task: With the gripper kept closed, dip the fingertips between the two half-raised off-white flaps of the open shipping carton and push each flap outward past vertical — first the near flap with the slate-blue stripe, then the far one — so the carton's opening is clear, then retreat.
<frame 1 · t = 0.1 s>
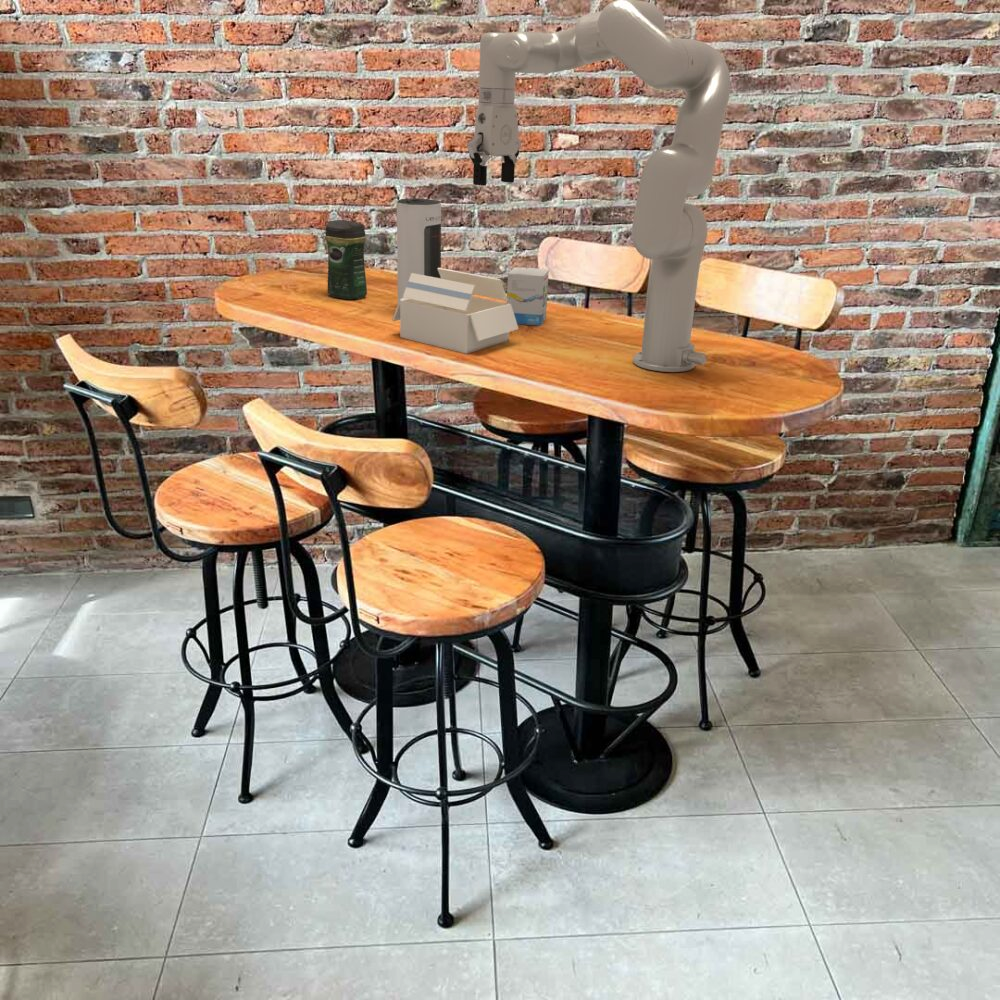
hand: (493, 183, 211), 31 cm above the table, fingers open, 9 cm apart
ink box: (526, 321, 229), on the table
coffee jar: (347, 297, 246), on the table
carton: (454, 339, 211), on the table
back flap: (472, 284, 211), point 11 cm above the table, hinge at 30.0°
front flap: (438, 291, 203), point 11 cm above the table, hinge at 30.0°
speaker: (418, 313, 233), on the table
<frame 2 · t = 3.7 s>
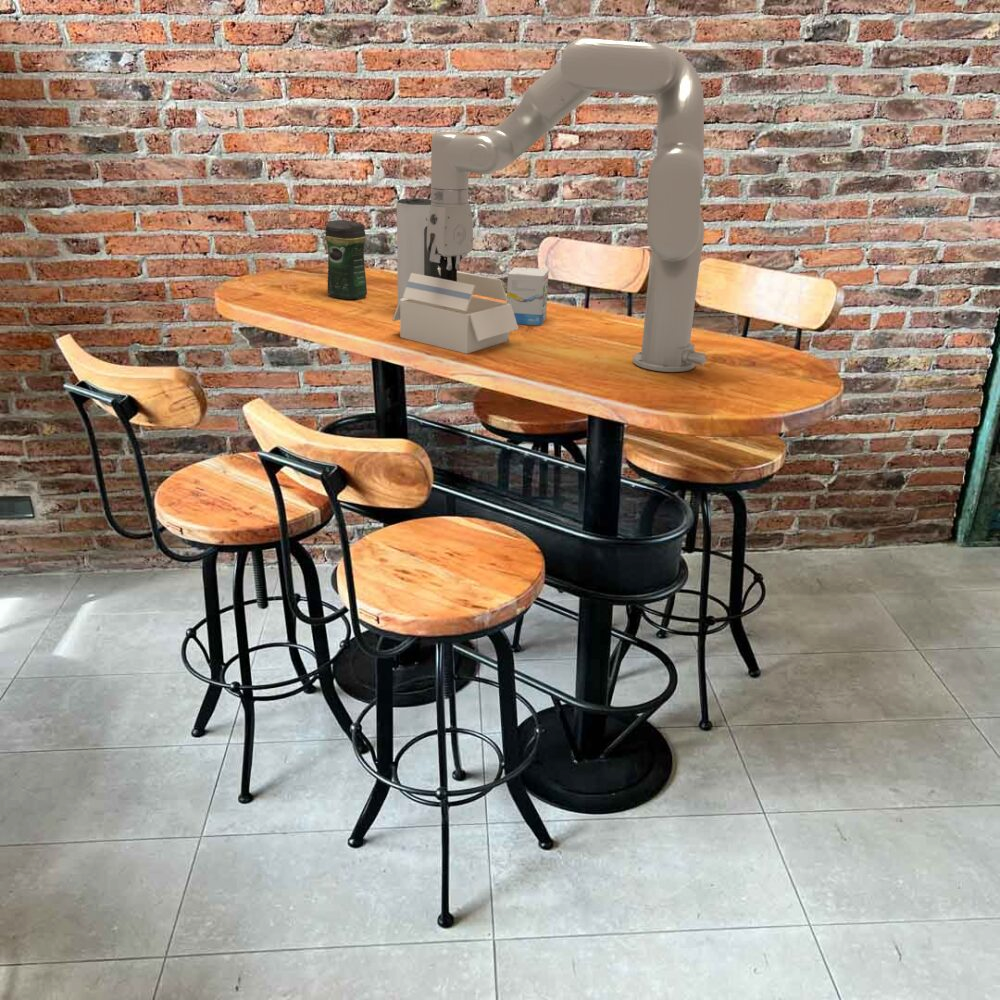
hand: (448, 287, 205), 11 cm above the table, fingers closed
front flap: (438, 291, 203), point 11 cm above the table, hinge at 29.3°, touching gripper
everything else where it was.
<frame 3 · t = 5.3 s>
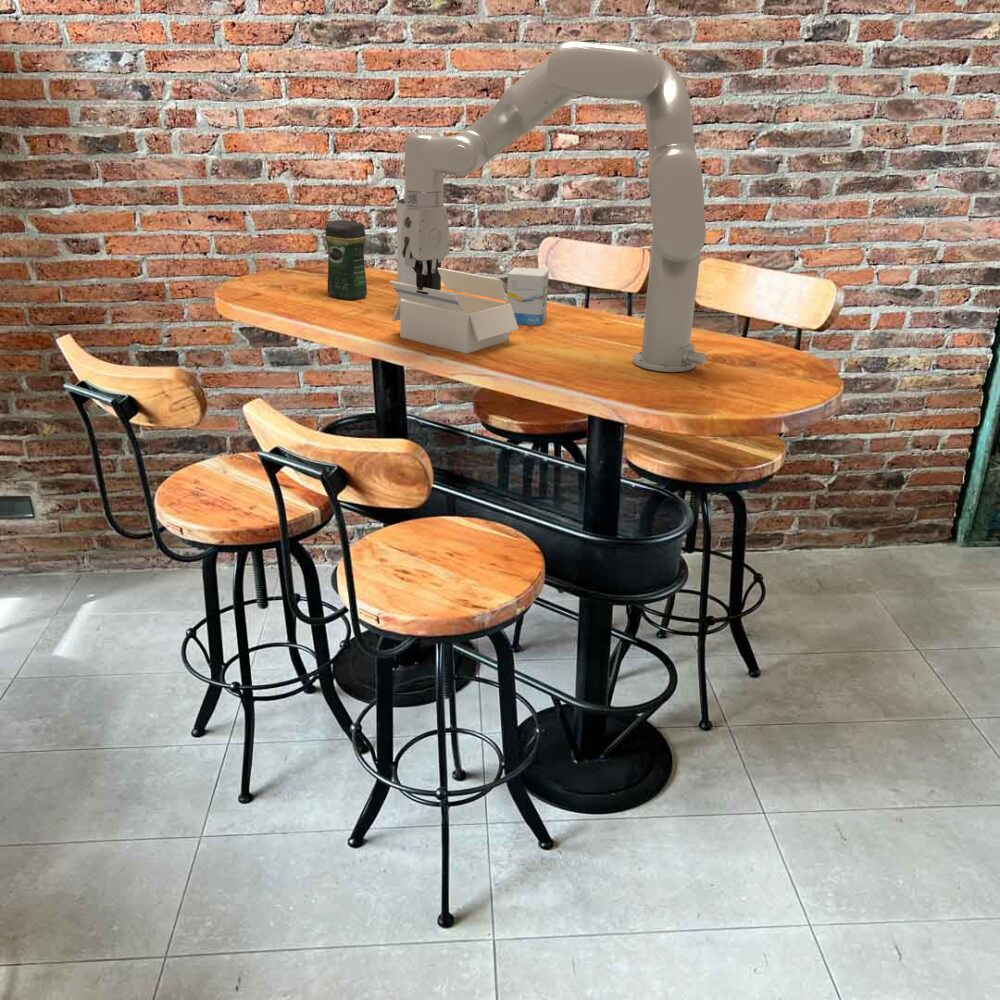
hand: (424, 292, 200), 11 cm above the table, fingers closed
front flap: (427, 296, 200), point 11 cm above the table, hinge at -42.5°, touching gripper
everything else where it was.
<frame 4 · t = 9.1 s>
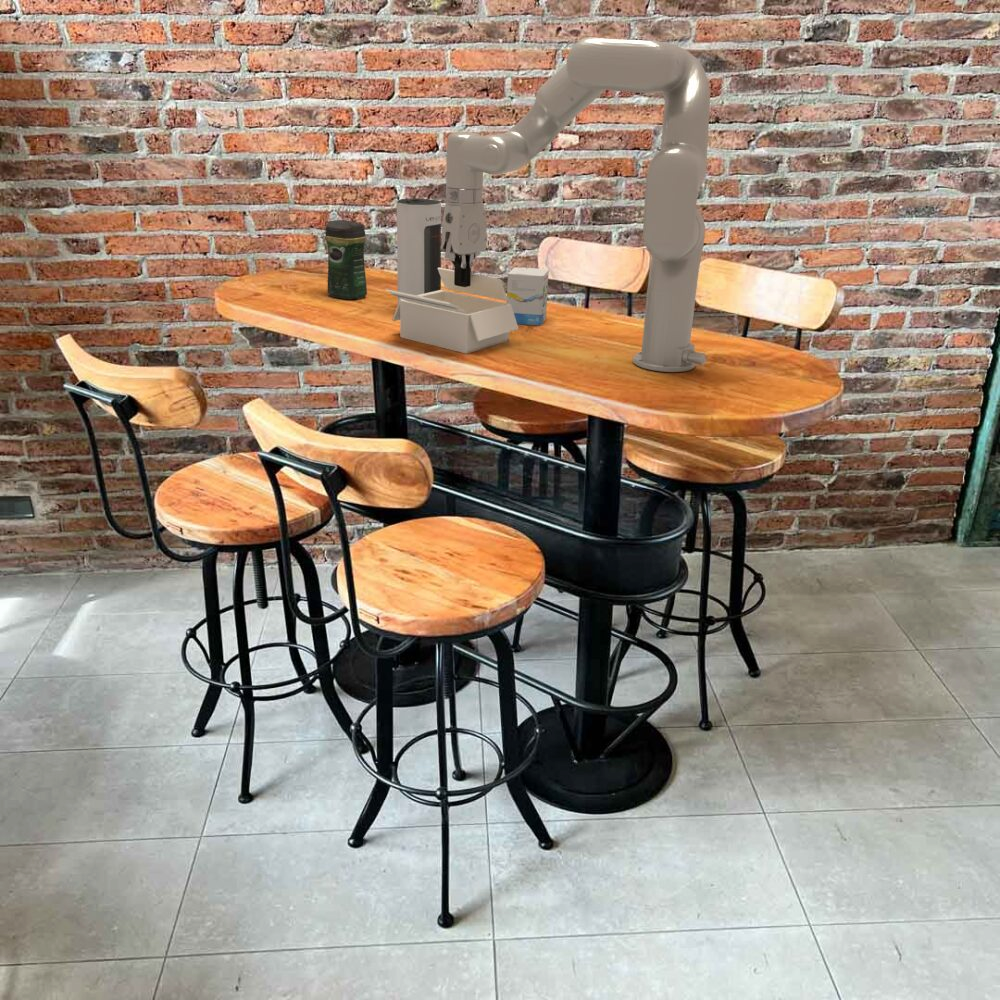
hand: (462, 285, 208), 11 cm above the table, fingers closed
back flap: (472, 283, 211), point 11 cm above the table, hinge at 29.6°, touching gripper
front flap: (424, 300, 200), point 10 cm above the table, hinge at -63.3°
everything else where it was.
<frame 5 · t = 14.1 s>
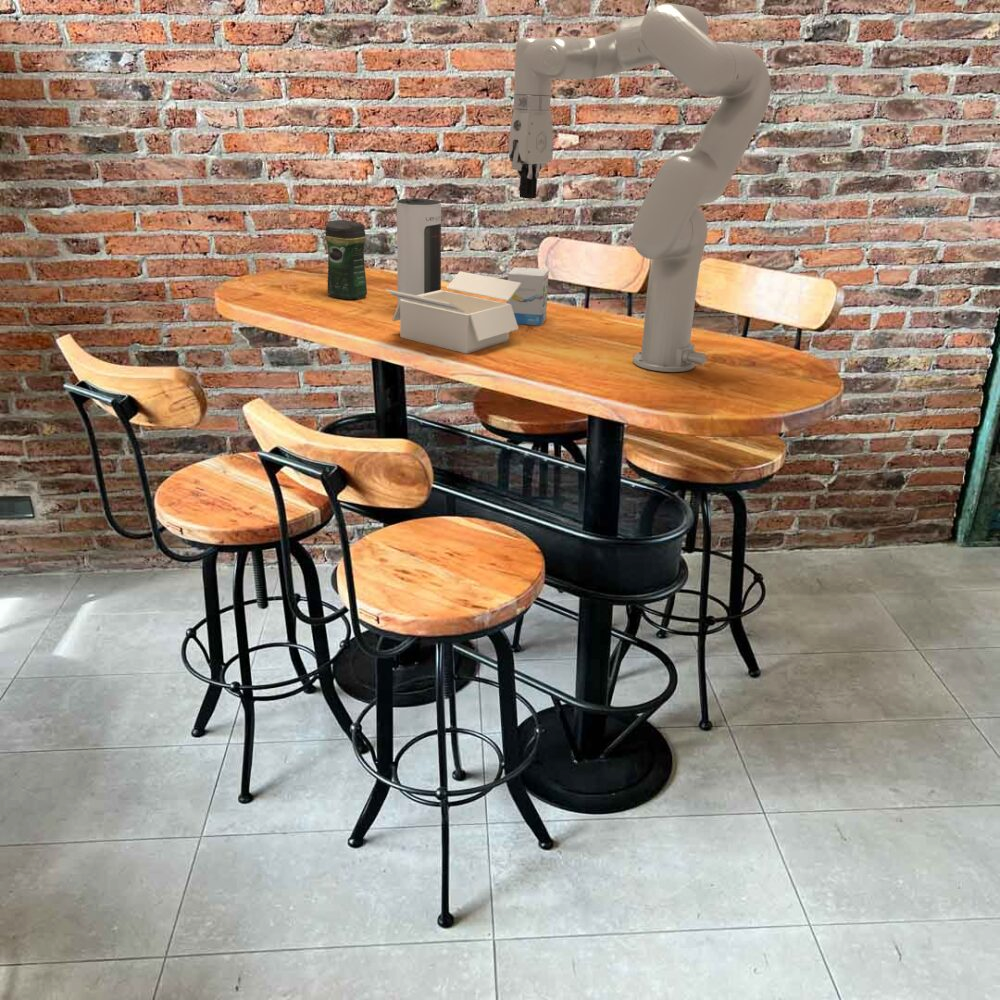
hand: (527, 197, 207), 29 cm above the table, fingers closed
back flap: (483, 285, 214), point 10 cm above the table, hinge at -56.9°
everything else where it was.
at the end: front flap at -63° (first picture: +30°); back flap at -57° (first picture: +30°) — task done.
